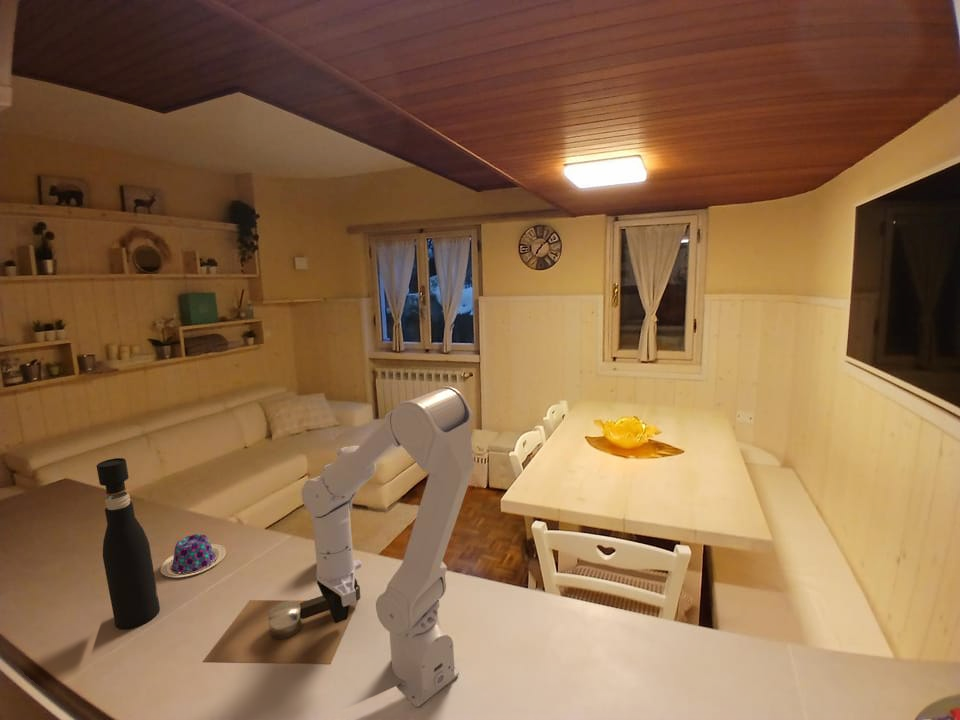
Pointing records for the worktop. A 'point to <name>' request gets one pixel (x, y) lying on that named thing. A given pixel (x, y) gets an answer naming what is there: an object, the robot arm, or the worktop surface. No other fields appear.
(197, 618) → the worktop surface
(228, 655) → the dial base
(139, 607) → the black water bottle
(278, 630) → the round-headed handle tool
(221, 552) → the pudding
